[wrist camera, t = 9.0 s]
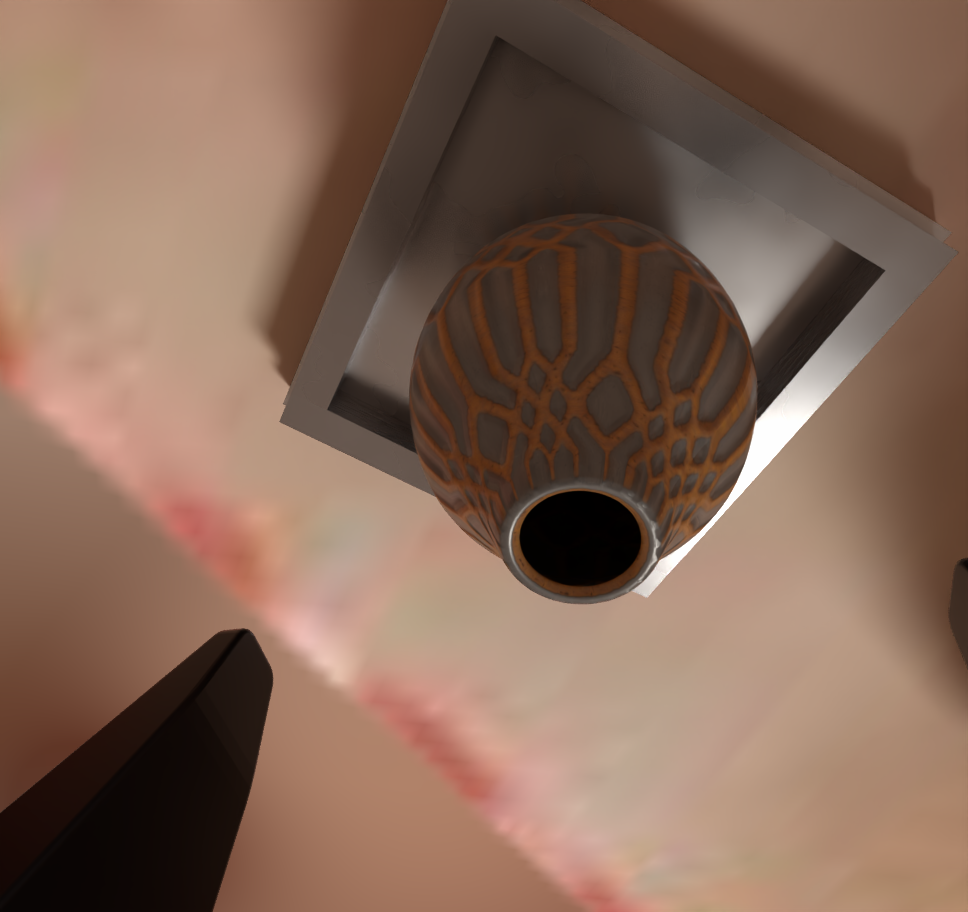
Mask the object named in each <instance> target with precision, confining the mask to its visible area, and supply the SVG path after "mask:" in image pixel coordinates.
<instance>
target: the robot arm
mask: <svg viewBox="0 0 968 912" xmlns="http://www.w3.org/2000/svg"><path fill="white" fill-rule="evenodd" d="M948 613H949V622H950V626H951V630H952V632H953V635H954V637H955V640H956V642H957V645H958V647H959V649H960V652H961V654H962V657H963V659H964V661H965V664H966V666H967V669H968V558H964V559H961V560H959V561H958V562H957V564H956V565H955V569H954V574H953V581H952V589H951V596H950V603H949V612H948ZM272 687H273V673H272V669H271V666H270V664H269V662H268V660H267V658H266V657H265V655H264V653H263V651H262V649H261V647H260V645H259V643H258V641H257V640H256V638H255V636H254V634H253V633H252V632H251V631H250V630H248V629H244V628H242V629H233V630H224V631H220V632H218V633H217V634H215V635H214V636H213V637H212V638H211V639H209V640H208V641H207V642H206V643H204V644H203V645H202V646H201V647H200V648H199V649H197V650H196V651H195V652H194V653H192V654H191V655H190V656H189V657H188V658H186V659H185V660H184V661H183V662H182V663H180V664H179V665H178V666H177V667H176V668H174V669H173V670H172V671H171V672H169V673H168V674H167V675H166V676H165V677H163V678H162V679H161V680H160V681H159V682H157V683H156V684H155V685H154V686H153V687H152V688H150V689H149V690H148V691H147V692H145V693H144V694H143V695H142V696H141V697H139V698H138V699H137V700H136V701H135V702H133V703H132V704H131V705H130V706H129V707H127V708H126V709H125V710H124V711H122V712H121V713H120V714H119V715H118V716H116V717H115V718H114V719H113V720H112V721H110V722H109V723H108V724H107V725H106V726H104V727H103V728H102V729H101V730H100V731H98V732H97V733H96V734H95V735H94V736H92V737H91V738H90V739H89V740H88V741H86V742H85V743H84V744H83V745H81V746H80V747H79V748H78V749H77V750H76V751H74V752H73V753H72V754H71V755H69V756H68V757H67V758H66V759H65V760H63V761H62V762H61V763H60V764H59V765H57V766H56V767H55V768H54V769H53V770H51V771H50V772H49V773H48V774H47V775H45V776H44V777H43V778H42V779H41V780H39V781H38V782H37V783H36V784H35V785H33V786H32V787H31V788H30V789H28V790H27V791H26V792H25V793H24V794H22V795H21V796H20V797H19V798H18V799H17V800H15V801H14V802H13V803H12V804H10V805H9V806H8V807H7V808H6V809H4V810H3V811H2V812H1V813H0V912H213V909H214V906H215V903H216V900H217V896H218V893H219V890H220V887H221V883H222V880H223V877H224V874H225V871H226V868H227V865H228V861H229V858H230V855H231V851H232V849H233V845H234V842H235V839H236V836H237V832H238V830H239V826H240V823H241V820H242V817H243V813H244V810H245V807H246V804H247V800H248V797H249V793H250V789H251V786H252V782H253V778H254V773H255V769H256V764H257V759H258V755H259V750H260V745H261V740H262V735H263V730H264V726H265V721H266V716H267V711H268V706H269V701H270V697H271V692H272Z"/></svg>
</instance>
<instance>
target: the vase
mask: <svg viewBox="0 0 968 912" xmlns="http://www.w3.org/2000/svg"><path fill="white" fill-rule="evenodd" d="M409 407H410V419H411V427H412V432H413V438H414V443H415V447H416V451H417V454H418V457H419V460H420V463H421V466H422V469H423V472H424V474H425V476H426V479H427V481H428V483H429V485H430V487H431V489H432V490H433V492H434V494H435V496H436V497H437V499H438V501H439V502H440V504H441V505H442V507H443V508H444V510H445V511H446V512H447V513H448V515H449V516H450V517H451V518H452V519H453V520H454V521H455V523H456V524H457V525H458V526H459V527H460V528H461V529H462V530H463V531H464V532H465V533H466V534H467V535H468V536H469V537H471V538H472V539H473V540H474V541H475V542H477V543H478V544H479V545H481V546H482V547H484V548H485V549H487V550H488V551H489V552H491V553H493V554H494V555H496V556H498V557H499V558H501V559H503V561H504V563H505V564H506V566H507V567H508V569H509V570H510V572H511V573H512V574H513V575H514V576H515V577H516V579H517V580H519V581H520V582H521V583H522V584H523V585H524V586H526V587H527V588H529V589H530V590H532V591H533V592H535V593H537V594H539V595H541V596H543V597H546V598H548V599H551V600H555V601H559V602H563V603H570V604H594V603H601V602H605V601H609V600H612V599H615V598H618V597H620V596H622V595H625V594H627V593H628V592H630V591H632V590H633V589H635V588H636V587H638V586H639V585H640V584H641V583H642V582H644V581H645V580H646V579H647V577H648V576H649V575H650V574H651V573H652V571H653V570H654V569H655V567H656V565H657V564H658V562H659V560H661V559H663V558H665V557H666V556H668V555H670V554H671V553H673V552H675V551H676V550H678V549H679V548H680V547H682V546H683V545H685V544H686V543H687V542H689V541H690V540H691V539H693V538H694V537H695V536H696V535H697V534H698V533H699V532H700V531H701V530H702V529H703V528H704V527H705V526H706V525H707V524H708V523H709V522H710V521H711V520H712V519H713V518H714V517H715V515H716V514H717V513H718V512H719V511H720V509H721V508H722V506H723V505H724V504H725V502H726V501H727V499H728V498H729V496H730V494H731V492H732V491H733V489H734V487H735V485H736V483H737V481H738V479H739V477H740V475H741V473H742V470H743V468H744V465H745V462H746V459H747V456H748V453H749V450H750V446H751V442H752V438H753V432H754V427H755V421H756V411H757V376H756V368H755V361H754V356H753V351H752V347H751V343H750V340H749V337H748V334H747V331H746V329H745V326H744V324H743V322H742V320H741V318H740V315H739V313H738V311H737V309H736V307H735V305H734V303H733V302H732V300H731V298H730V297H729V295H728V294H727V292H726V291H725V289H724V288H723V286H722V285H721V284H720V282H719V281H718V280H717V278H716V277H715V276H714V274H713V273H712V272H711V271H710V270H709V269H708V268H707V267H706V266H705V265H704V264H703V263H702V262H701V261H700V260H699V259H698V258H697V257H696V256H695V255H694V254H693V253H692V252H691V251H689V250H688V249H687V248H686V247H684V246H683V245H682V244H680V243H679V242H678V241H676V240H674V239H673V238H671V237H670V236H668V235H666V234H664V233H662V232H661V231H659V230H657V229H655V228H652V227H650V226H647V225H645V224H642V223H639V222H636V221H633V220H630V219H626V218H621V217H617V216H611V215H604V214H590V213H587V214H567V215H559V216H554V217H548V218H544V219H540V220H537V221H533V222H531V223H528V224H525V225H522V226H520V227H517V228H515V229H513V230H511V231H509V232H507V233H505V234H503V235H501V236H499V237H498V238H496V239H495V240H493V241H492V242H490V243H488V244H487V245H486V246H484V247H483V248H482V249H480V250H479V251H478V252H477V253H476V254H474V255H473V256H472V257H471V258H470V259H469V260H468V261H467V262H466V263H465V264H464V265H463V266H462V267H461V268H460V269H459V271H458V272H457V273H456V274H455V275H454V276H453V278H452V279H451V280H450V281H449V283H448V284H447V285H446V287H445V288H444V290H443V291H442V293H441V294H440V295H439V297H438V299H437V300H436V302H435V304H434V306H433V307H432V309H431V311H430V313H429V315H428V317H427V319H426V321H425V324H424V326H423V328H422V331H421V334H420V337H419V340H418V342H417V345H416V349H415V353H414V357H413V362H412V368H411V375H410V387H409Z"/></svg>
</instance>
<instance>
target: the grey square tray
mask: <svg viewBox="0 0 968 912" xmlns="http://www.w3.org/2000/svg"><path fill="white" fill-rule="evenodd" d="M587 213H590V214H604V215H611V216H617V217H621V218H626V219H630V220H633V221H636V222H639V223H642V224H645V225H647V226H650V227H652V228H655V229H657V230H659V231H661V232H662V233H664V234H666V235H668V236H670V237H671V238H673V239H674V240H676V241H678V242H679V243H680V244H682V245H683V246H684V247H686V248H687V249H688V250H689V251H691V252H692V253H693V254H694V255H695V256H696V257H697V258H698V259H699V260H700V261H701V262H702V263H703V264H704V265H705V266H706V267H707V268H708V269H709V270H710V271H711V272H712V273H713V274H714V276H715V277H716V278H717V280H718V281H719V282H720V284H721V285H722V286H723V288H724V289H725V291H726V292H727V294H728V295H729V297H730V298H731V300H732V302H733V303H734V305H735V307H736V309H737V311H738V313H739V315H740V318H741V320H742V322H743V324H744V326H745V329H746V331H747V334H748V337H749V340H750V343H751V347H752V351H753V356H754V361H755V368H756V376H757V411H756V421H755V427H754V432H753V438H752V442H751V446H750V450H749V453H748V456H747V459H746V462H745V465H744V468H743V470H742V473H741V475H740V477H739V479H738V481H737V483H736V485H735V487H734V489H733V491H732V492H731V494H730V496H729V498H728V499H727V501H726V502H725V504H724V505H723V506H722V508H721V509H720V511H719V512H718V513H717V514H716V515H715V517H714V518H713V519H712V520H711V521H710V522H709V523H708V524H707V525H706V526H705V527H704V528H703V529H702V530H701V531H700V532H699V533H698V534H697V535H696V536H695V537H694V538H693V539H691V540H690V541H689V542H687V543H686V544H685V545H683V546H682V547H680V548H679V549H678V550H676V551H675V552H673V553H671V554H670V555H668V556H666V557H665V558H663V559H661V560H659V562H658V564H657V565H656V567H655V569H654V570H653V571H652V573H651V574H650V575H649V576H648V577H647V579H646V580H645V581H644V582H642V583H641V584H640V585H639V586H638V587H636V588H635V589H633V590H632V591H634V592H636V593H638V594H640V595H642V596H644V597H646V598H647V597H648V596H649V595H650V594H651V593H652V591H653V590H654V589H655V588H656V587H657V586H658V585H659V584H660V583H661V581H662V580H663V579H664V578H665V577H666V576H667V575H668V574H669V573H670V571H671V570H672V569H673V568H674V567H675V566H676V565H677V564H678V563H679V561H680V560H681V559H682V558H683V557H684V556H685V555H686V554H687V553H688V552H689V550H690V549H691V548H692V547H693V546H694V545H695V544H696V543H697V542H698V540H699V539H700V538H701V537H702V536H703V535H704V534H705V533H706V532H707V530H708V529H709V528H710V527H711V526H712V525H713V524H714V523H715V522H716V521H717V519H718V518H719V517H720V516H721V515H722V514H723V513H724V512H725V511H726V509H727V508H728V507H729V506H730V505H731V504H732V503H733V502H734V501H735V499H736V498H737V497H738V496H739V495H740V494H741V493H742V492H743V491H744V489H745V488H746V487H747V486H748V485H749V484H750V483H751V482H752V481H753V480H754V478H755V477H756V476H757V475H758V474H759V473H760V472H761V471H762V470H763V468H764V467H765V466H766V465H767V464H768V463H769V462H770V461H771V460H772V458H773V457H774V456H775V455H776V454H777V453H778V452H779V451H780V450H781V449H782V447H783V446H784V445H785V444H786V443H787V442H788V441H789V440H790V439H791V437H792V436H793V435H794V434H795V433H796V432H797V431H798V430H799V429H800V427H801V426H802V425H803V424H804V423H805V422H806V421H807V420H808V419H809V417H810V416H811V415H812V414H813V413H814V412H815V411H816V410H817V409H818V408H819V406H820V405H821V404H822V403H823V402H824V401H825V400H826V399H827V398H828V396H829V395H830V394H831V393H832V392H833V391H834V390H835V389H836V388H837V386H838V385H839V384H840V383H841V382H842V381H843V380H844V379H845V378H846V377H847V375H848V374H849V373H850V372H851V371H852V370H853V369H854V368H855V367H856V365H857V364H858V363H859V362H860V361H861V360H862V359H863V358H864V357H865V355H866V354H867V353H868V352H869V351H870V350H871V349H872V348H873V347H874V345H875V344H876V343H877V342H878V341H879V340H880V339H881V338H882V337H883V336H884V334H885V333H886V332H887V331H888V330H889V329H890V328H891V327H892V326H893V324H894V323H895V322H896V321H897V320H898V319H899V318H900V317H901V316H902V314H903V313H904V312H905V311H906V310H907V309H908V308H909V307H910V306H911V305H912V303H913V302H914V301H915V300H916V299H917V298H918V297H919V296H920V295H921V293H922V292H923V291H924V290H925V289H926V288H927V287H928V286H929V285H930V283H931V282H932V281H933V280H934V279H935V278H936V277H937V276H938V275H939V273H940V272H941V271H942V270H943V269H944V268H945V267H946V266H947V265H948V264H949V262H950V261H951V260H952V259H953V258H954V257H955V256H956V255H957V254H958V251H956V250H954V249H953V248H951V247H950V246H948V245H946V244H945V243H943V242H944V241H945V240H946V239H947V238H948V236H949V235H950V234H951V233H952V232H950V231H949V230H947V229H945V228H944V227H942V226H941V225H939V224H937V223H936V222H934V221H933V220H931V219H929V218H928V217H926V216H925V215H923V214H921V213H920V212H918V211H917V210H915V209H913V208H912V207H910V206H909V205H907V204H906V203H904V202H902V201H901V200H899V199H898V198H896V197H894V196H893V195H891V194H890V193H888V192H886V191H885V190H883V189H882V188H880V187H878V186H877V185H875V184H874V183H872V182H870V181H869V180H867V179H866V178H864V177H862V176H861V175H859V174H858V173H856V172H854V171H853V170H851V169H850V168H848V167H846V166H845V165H843V164H842V163H840V162H838V161H837V160H835V159H834V158H832V157H830V156H829V155H827V154H826V153H824V152H822V151H821V150H819V149H818V148H816V147H814V146H813V145H811V144H810V143H808V142H806V141H805V140H803V139H802V138H800V137H798V136H797V135H795V134H794V133H792V132H790V131H789V130H787V129H786V128H784V127H782V126H781V125H779V124H778V123H776V122H774V121H773V120H771V119H770V118H768V117H766V116H765V115H763V114H762V113H760V112H758V111H757V110H755V109H754V108H752V107H751V106H749V105H747V104H746V103H744V102H743V101H741V100H739V99H738V98H736V97H735V96H733V95H731V94H730V93H728V92H727V91H725V90H723V89H722V88H720V87H719V86H717V85H715V84H714V83H712V82H711V81H709V80H707V79H706V78H704V77H703V76H701V75H699V74H698V73H696V72H695V71H693V70H691V69H690V68H688V67H687V66H685V65H683V64H682V63H680V62H679V61H677V60H675V59H674V58H672V57H671V56H669V55H667V54H666V53H664V52H663V51H661V50H659V49H658V48H656V47H655V46H653V45H651V44H650V43H648V42H647V41H645V40H643V39H642V38H640V37H639V36H637V35H635V34H634V33H632V32H631V31H629V30H627V29H626V28H624V27H623V26H621V25H619V24H618V23H616V22H615V21H613V20H611V19H610V18H608V17H607V16H605V15H603V14H602V13H600V12H599V11H597V10H596V9H594V8H592V7H591V6H589V5H588V4H586V3H584V2H583V1H581V0H447V3H446V5H445V8H444V10H443V13H442V15H441V17H440V20H439V22H438V25H437V27H436V30H435V32H434V35H433V37H432V40H431V42H430V44H429V47H428V49H427V52H426V54H425V57H424V59H423V62H422V64H421V67H420V69H419V72H418V74H417V76H416V79H415V81H414V84H413V86H412V89H411V91H410V94H409V96H408V99H407V101H406V103H405V106H404V108H403V111H402V113H401V116H400V118H399V121H398V123H397V126H396V128H395V130H394V133H393V135H392V138H391V140H390V143H389V145H388V148H387V150H386V153H385V155H384V157H383V160H382V162H381V165H380V167H379V170H378V172H377V175H376V177H375V180H374V182H373V184H372V187H371V189H370V192H369V194H368V197H367V199H366V202H365V204H364V207H363V209H362V211H361V214H360V216H359V219H358V221H357V224H356V226H355V229H354V231H353V234H352V236H351V238H350V241H349V243H348V246H347V248H346V251H345V253H344V256H343V258H342V261H341V263H340V265H339V268H338V270H337V273H336V275H335V278H334V280H333V283H332V285H331V288H330V290H329V293H328V295H327V297H326V300H325V302H324V305H323V307H322V310H321V312H320V315H319V317H318V320H317V322H316V324H315V327H314V329H313V332H312V334H311V337H310V339H309V342H308V344H307V347H306V349H305V351H304V354H303V356H302V359H301V361H300V364H299V366H298V369H297V371H296V374H295V376H294V378H293V381H292V383H291V386H290V388H289V391H288V393H287V396H286V398H285V401H284V403H283V404H284V405H286V407H285V409H284V412H283V414H282V417H281V419H280V422H281V423H283V424H285V425H287V426H289V427H291V428H293V429H295V430H297V431H299V432H301V433H304V434H306V435H308V436H310V437H312V438H314V439H316V440H318V441H320V442H322V443H324V444H327V445H329V446H331V447H333V448H335V449H337V450H339V451H341V452H343V453H345V454H347V455H350V456H352V457H354V458H356V459H358V460H360V461H362V462H364V463H366V464H368V465H370V466H373V467H375V468H377V469H379V470H381V471H383V472H385V473H387V474H389V475H391V476H393V477H395V478H398V479H400V480H402V481H404V482H406V483H408V484H410V485H412V486H414V487H416V488H418V489H421V490H423V491H425V492H427V493H429V494H431V495H433V496H435V494H434V492H433V490H432V489H431V487H430V485H429V483H428V481H427V479H426V476H425V474H424V472H423V469H422V466H421V463H420V460H419V457H418V454H417V451H416V447H415V443H414V438H413V432H412V427H411V419H410V407H409V387H410V375H411V368H412V362H413V357H414V353H415V349H416V345H417V342H418V340H419V337H420V334H421V331H422V328H423V326H424V324H425V321H426V319H427V317H428V315H429V313H430V311H431V309H432V307H433V306H434V304H435V302H436V300H437V299H438V297H439V295H440V294H441V293H442V291H443V290H444V288H445V287H446V285H447V284H448V283H449V281H450V280H451V279H452V278H453V276H454V275H455V274H456V273H457V272H458V271H459V269H460V268H461V267H462V266H463V265H464V264H465V263H466V262H467V261H468V260H469V259H470V258H471V257H472V256H473V255H474V254H476V253H477V252H478V251H479V250H480V249H482V248H483V247H484V246H486V245H487V244H488V243H490V242H492V241H493V240H495V239H496V238H498V237H499V236H501V235H503V234H505V233H507V232H509V231H511V230H513V229H515V228H517V227H520V226H522V225H525V224H528V223H531V222H533V221H537V220H540V219H544V218H548V217H554V216H559V215H567V214H587ZM435 497H436V496H435Z"/></svg>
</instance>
